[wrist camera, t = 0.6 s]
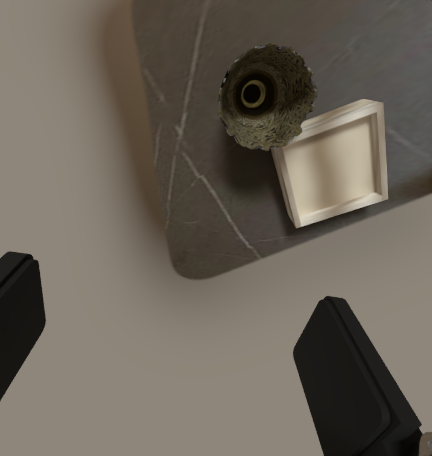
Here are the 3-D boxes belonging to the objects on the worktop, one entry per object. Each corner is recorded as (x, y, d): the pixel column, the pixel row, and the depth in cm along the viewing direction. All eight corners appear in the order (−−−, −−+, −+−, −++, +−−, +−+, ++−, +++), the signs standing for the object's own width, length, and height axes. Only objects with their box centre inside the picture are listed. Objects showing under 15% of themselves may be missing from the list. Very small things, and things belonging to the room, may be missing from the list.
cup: (263, 144, 30) (280, 167, 23) (202, 111, 28) (202, 126, 22) (303, 75, 27) (337, 77, 20) (238, 33, 25) (250, 20, 18)
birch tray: (363, 98, 28) (383, 102, 25) (370, 186, 33) (388, 198, 30) (267, 134, 30) (274, 143, 27) (287, 213, 35) (296, 228, 32)
